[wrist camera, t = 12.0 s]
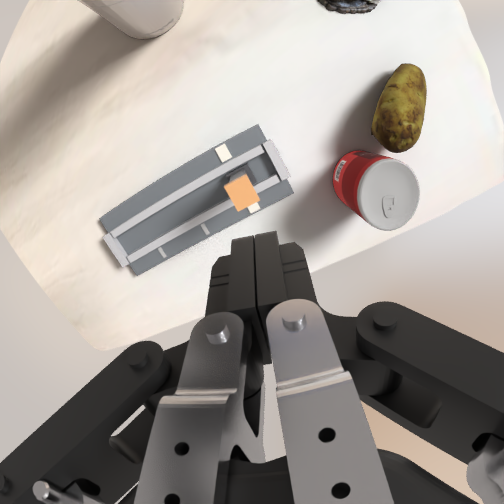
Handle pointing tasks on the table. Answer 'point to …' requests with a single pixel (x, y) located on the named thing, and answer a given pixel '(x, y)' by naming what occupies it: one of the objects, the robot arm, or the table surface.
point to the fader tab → (241, 187)
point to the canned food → (377, 188)
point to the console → (193, 202)
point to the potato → (400, 109)
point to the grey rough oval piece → (350, 5)
